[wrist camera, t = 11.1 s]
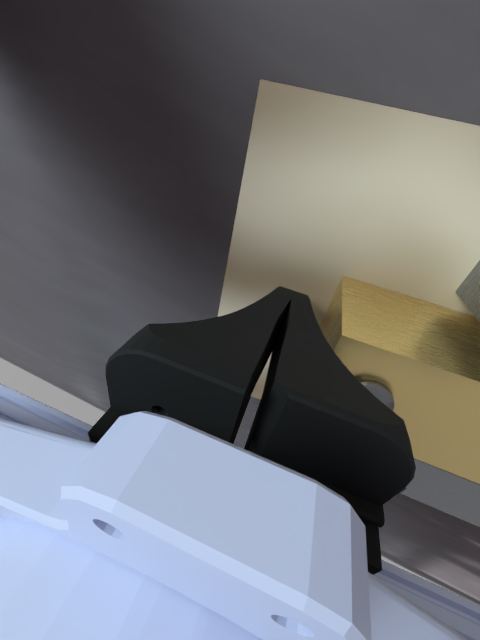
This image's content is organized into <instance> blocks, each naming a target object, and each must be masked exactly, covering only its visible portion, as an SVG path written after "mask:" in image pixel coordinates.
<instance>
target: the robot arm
mask: <svg viewBox="0 0 480 640" xmlns="http://www.w3.org/2000/svg"><path fill="white" fill-rule="evenodd" d="M271 353H272V355H271ZM270 355H271V359H270V363H269V368H268V372H267V377H266V381H265V385H264V390H263V393H262V397H261V401H260V404H259V406H258V409H257V412H256V415H255V418H254V421H253V424H252V427H251V430H250V433H249V436H248V439H247V442H246V445H245V448H244V449H243V448H240V447H238V446H236V445H234V444H233V443H234V440H235V437H236V435H237V432H238V429H239V427H240V424H241V421H242V419H243V416H244V413H245V410H246V408H247V405H248V402H249V400H250V397H251V394H252V392H253V390H254V388H255V386H256V383H257V381H258V379H259V377H260V375H261V373H262V371H263V369H264V367H265V365H266V363H267V361H268V359H269V357H270ZM106 380H107V386H108V392H109V399H110V405H111V407H110V408H109V409H108V411H107V412H106V413H105V414H104V415H103V416H102V417H101V418H100V419H99V421H98V422H97V423H96V424H95V425H94V426H91V425H89V424H86V423H84V422H82V421H80V420H78V419H76V418H74V417H72V416H69V415H67V414H65V413H63V412H61V411H59V410H56V409H54V408H52V407H50V406H48V405H46V404H43V403H41V402H39V401H37V400H35V399H33V398H30V397H28V396H26V395H24V394H22V393H19V392H17V391H15V390H13V389H11V388H9V387H7V386H5V385H2V384H0V640H480V605H478V604H476V603H474V602H472V601H470V600H468V599H465V598H463V597H461V596H459V595H457V594H455V593H452V592H450V591H448V590H446V589H444V588H442V587H439V586H437V585H435V584H433V583H431V582H429V581H427V580H424V579H422V578H420V577H418V576H416V575H414V574H411V573H409V572H407V571H405V570H403V569H400V568H398V567H396V566H394V565H392V564H390V563H388V562H385V561H383V560H381V551H380V540H379V529H378V527H382V526H383V525H384V521H385V520H384V511H383V504H384V503H386V502H387V501H388V500H390V499H391V498H392V497H394V496H395V495H396V494H397V493H399V492H400V491H401V490H403V489H404V488H405V487H407V485H408V484H409V483H410V482H411V481H412V480H413V478H414V475H415V470H416V466H415V461H414V457H413V452H412V447H411V442H410V438H409V435H408V432H407V429H406V425H405V422H404V420H403V419H402V418H400V417H399V416H398V415H397V414H396V413H394V412H393V411H392V410H391V409H390V408H388V407H387V406H386V405H385V404H384V403H382V402H381V401H380V400H379V399H377V398H376V397H375V396H374V395H373V394H372V393H371V392H370V391H369V390H368V389H367V388H366V387H365V386H364V385H363V384H362V383H360V382H359V380H358V379H357V378H356V377H355V376H354V375H353V374H352V373H351V372H350V371H349V370H348V368H347V367H346V366H345V365H344V364H343V363H342V361H341V360H340V359H339V358H338V356H337V355H336V354H335V352H334V351H333V349H332V348H331V346H330V345H329V343H328V342H327V340H326V338H325V337H324V335H323V333H322V331H321V329H320V327H319V324H318V322H317V319H316V317H315V314H314V312H313V309H312V305H311V302H310V298H309V296H308V295H306V294H302V293H299V292H296V291H293V290H290V289H287V288H284V287H281V286H279V287H277V288H276V289H274V290H273V291H272V292H270V293H269V294H268V295H266V296H264V297H263V298H261V299H260V300H258V301H256V302H254V303H253V304H251V305H249V306H247V307H245V308H243V309H240V310H238V311H236V312H233V313H230V314H227V315H223V316H219V317H215V318H211V319H206V320H200V321H194V322H185V323H167V324H148V325H147V326H145V327H144V328H143V329H141V330H140V331H139V332H137V333H136V334H135V335H134V336H133V337H132V338H131V339H129V340H128V341H127V342H126V343H125V344H124V345H123V346H122V347H121V348H120V349H118V350H117V351H116V352H115V353H114V354H113V355H112V356H111V357H110V358H109V360H108V362H107V364H106Z"/></svg>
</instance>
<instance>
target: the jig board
mask: <svg viewBox="0 0 480 640" xmlns="http://www.w3.org/2000/svg"><path fill="white" fill-rule="evenodd" d="M479 260H480V126H477V125H472V124H467V123H463V122H458V121H453V120H449V119H444V118H439V117H435V116H430V115H425V114H421V113H416V112H411V111H407V110H402V109H397V108H393V107H388V106H383V105H379V104H374V103H369V102H365V101H360V100H355V99H351V98H346V97H341V96H337V95H332V94H327V93H323V92H318V91H313V90H309V89H304V88H299V87H295V86H290V85H285V84H281V83H276V82H271V81H267V80H262V79H260V83H259V89H258V94H257V100H256V105H255V111H254V117H253V122H252V128H251V133H250V139H249V144H248V150H247V156H246V161H245V167H244V172H243V178H242V184H241V189H240V195H239V200H238V206H237V211H236V217H235V223H234V228H233V234H232V239H231V245H230V250H229V256H228V262H227V267H226V273H225V278H224V284H223V289H222V295H221V301H220V306H219V312H218V317H219V316H223V315H227V314H230V313H233V312H236V311H238V310H240V309H243V308H245V307H247V306H249V305H251V304H253V303H254V302H256V301H258V300H260V299H261V298H263V297H264V296H266V295H268V294H269V293H270V292H272V291H273V290H274V289H276V288H277V287H279V286H281V287H284V288H287V289H290V290H293V291H296V292H299V293H302V294H306V295H308V296H309V298H310V302H311V305H312V309H313V312H314V314H315V317H316V319H317V322H318V324H319V326H320V323H321V321H322V319H323V317H324V315H325V313H326V310H327V308H328V306H329V304H330V302H331V300H332V297H333V295H334V293H335V291H336V289H337V287H338V284H339V282H340V280H341V278H342V276H346V277H349V278H352V279H355V280H359V281H362V282H365V283H368V284H372V285H375V286H378V287H381V288H385V289H388V290H391V291H395V292H398V293H401V294H404V295H408V296H411V297H414V298H417V299H421V300H424V301H427V302H430V303H434V304H437V305H440V306H443V307H447V308H450V309H453V310H456V311H460V312H463V313H466V314H469V315H473V314H472V312H471V311H470V310H469V309H468V307H467V306H466V305H465V303H464V302H463V301H462V300H461V298H460V297H459V296H458V294H457V293H456V292H455V291H456V290H457V289H458V287H459V286H460V285H461V283H462V282H463V281H464V280H465V278H466V277H467V276H468V274H469V273H470V272H471V271H472V269H473V268H474V267H475V266H476V264H477V263H478V262H479ZM473 316H474V315H473ZM271 355H272V353H271ZM271 355H270V357H269V359H268V361H267V363H266V365H265V367H264V369H263V371H262V373H261V375H260V377H259V379H258V381H257V383H256V386H255V388H254V390H253V392H252V394H251V396H252V397H255V398H257V399H260V400H261V397H262V393H263V390H264V385H265V381H266V377H267V372H268V368H269V363H270V359H271Z"/></svg>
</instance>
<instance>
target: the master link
mask: <svg viewBox="0 0 480 640" xmlns="http://www.w3.org/2000/svg"><path fill="white" fill-rule="evenodd" d="M319 327H320V329H321V331H322V333H323V335H324V337H325V338H326V340H327V342H328V343H329V345H330V346H331V348H332V349H333V351H334V352H335V354H336V355H337V356H338V358H339V359H340V360H341V361H342V363H343V364H344V365H345V366H346V367H347V368H348V370H349V371H350V372H351V373H352V374H353V375H354V376H355V377H356V378H357V379H358V380H359V382H360V383H362V384H363V385H364V386H365V387H366V388H367V389H368V390H369V391H370V392H371V393H372V394H373V395H374V396H375V397H376V398H377V399H379V400H380V401H381V402H382V403H384V404H385V405H386V406H387V407H388V408H390V409H391V410H392V411H393V412H394V413H396V414H397V415H398V416H399V417H400V418H402V419H403V420H404V422H405V425H406V429H407V432H408V435H409V438H410V442H411V447H412V452H413V457H414V458H415V459H417V460H420V461H422V462H425V463H428V464H430V465H433V466H435V467H438V468H440V469H443V470H445V471H448V472H450V473H453V474H455V475H458V476H460V477H463V478H465V479H468V480H470V481H473V482H475V483H478V484H480V323H479V321H478V320H477V319H476V318H475V316H473V315H469V314H466V313H463V312H460V311H456V310H453V309H450V308H447V307H443V306H440V305H437V304H434V303H430V302H427V301H424V300H421V299H417V298H414V297H411V296H408V295H404V294H401V293H398V292H395V291H391V290H388V289H385V288H381V287H378V286H375V285H372V284H368V283H365V282H362V281H359V280H355V279H352V278H349V277H346V276H342V278H341V280H340V282H339V284H338V287H337V289H336V291H335V293H334V295H333V297H332V300H331V302H330V304H329V306H328V308H327V310H326V313H325V315H324V317H323V319H322V321H321V323H320V326H319Z"/></svg>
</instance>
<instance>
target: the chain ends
mask: <svg viewBox="0 0 480 640" xmlns="http://www.w3.org/2000/svg"><path fill="white" fill-rule="evenodd" d="M455 292H456V293H457V294H458V296H459V297H460V298H461V300H462V301H463V302H464V303H465V305H466V306H467V307H468V309H469V310H470V311H471V312H472V314H473V315H474V316H475V318H476V319H477V320H478V321H479V323H480V260H479V262H478V263H477V264H476V266H475V267H474V268H473V269H472V271H471V272H470V273H469V274H468V276H467V277H466V278H465V280H464V281H463V282H462V283H461V285H460V286H459V287H458V289H457V290H456V291H455ZM414 461H415V466H416V470H415V475H414V478H413V480H412V481H411V482H410V483H409V484H408V485H407V487H405V488H404V489H403V490H401V491H400V494H403V495H405V496H407V497H410V498H412V499H415V500H417V501H419V502H422V503H424V504H426V505H429V506H431V507H433V508H436V509H438V510H440V511H443V512H445V513H448V514H450V515H452V516H455V517H457V518H459V519H462V520H464V521H466V522H469V523H471V524H474V525H476V526H478V527H480V484H478V483H475V482H473V481H470V480H468V479H465V478H463V477H460V476H458V475H455V474H453V473H450V472H448V471H445V470H443V469H440V468H438V467H435V466H433V465H430V464H428V463H425V462H422V461H420V460H417V459H415V458H414Z"/></svg>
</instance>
